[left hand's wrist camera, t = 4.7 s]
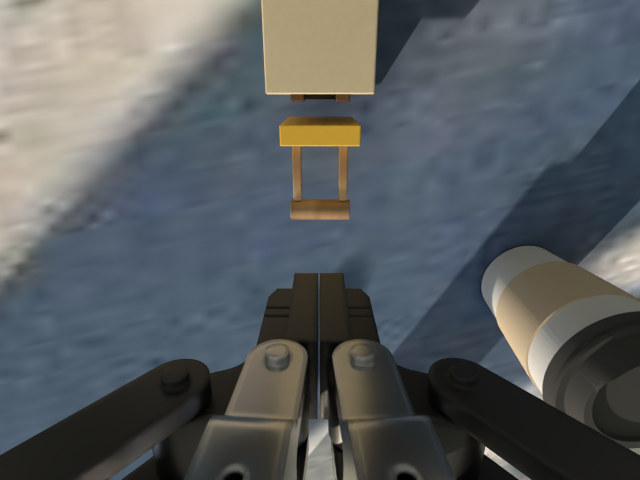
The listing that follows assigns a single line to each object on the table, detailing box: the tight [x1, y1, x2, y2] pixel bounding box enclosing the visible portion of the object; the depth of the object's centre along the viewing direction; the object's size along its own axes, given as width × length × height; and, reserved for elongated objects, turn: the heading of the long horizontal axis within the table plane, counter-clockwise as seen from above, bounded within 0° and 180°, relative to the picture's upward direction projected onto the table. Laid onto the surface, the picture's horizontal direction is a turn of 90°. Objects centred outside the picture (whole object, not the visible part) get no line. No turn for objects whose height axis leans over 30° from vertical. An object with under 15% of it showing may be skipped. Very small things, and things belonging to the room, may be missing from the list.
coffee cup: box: [481, 246, 640, 448], centre depth 28 cm, size 9×9×15 cm
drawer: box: [279, 94, 361, 219], centre depth 25 cm, size 22×5×7 cm, turn 0°
